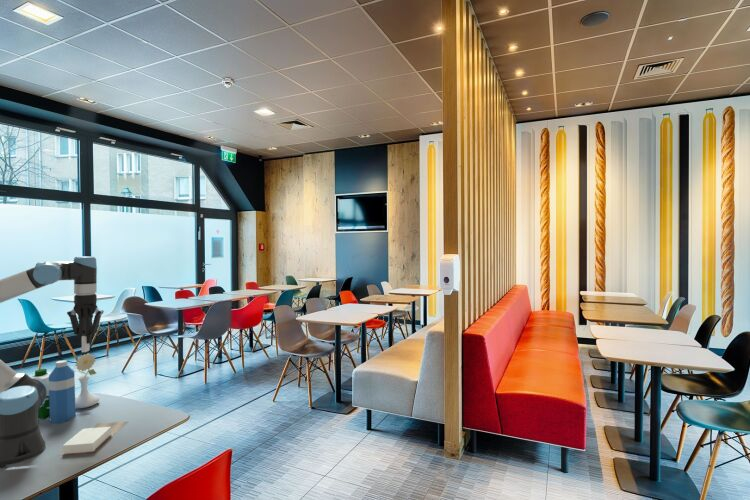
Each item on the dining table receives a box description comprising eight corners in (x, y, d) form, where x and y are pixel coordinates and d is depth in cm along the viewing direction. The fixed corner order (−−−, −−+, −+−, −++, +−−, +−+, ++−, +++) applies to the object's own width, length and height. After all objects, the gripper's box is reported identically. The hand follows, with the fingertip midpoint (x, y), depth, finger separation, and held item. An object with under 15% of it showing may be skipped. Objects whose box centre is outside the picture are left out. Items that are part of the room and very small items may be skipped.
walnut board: (58, 457, 143) (58, 455, 143) (98, 425, 168) (98, 423, 168) (94, 454, 144) (94, 452, 144) (128, 423, 169) (128, 421, 169)
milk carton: (47, 410, 184) (46, 366, 183) (64, 411, 182) (62, 367, 181) (27, 418, 175) (26, 373, 174) (44, 420, 173) (43, 374, 173)
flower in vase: (63, 409, 184) (61, 355, 184) (87, 399, 195) (86, 348, 194) (83, 412, 180) (82, 357, 180) (107, 403, 191) (106, 350, 190)
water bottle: (80, 417, 176) (78, 360, 175) (54, 425, 168) (52, 366, 167) (71, 412, 181) (69, 357, 180) (45, 420, 173) (43, 362, 172)
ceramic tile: (83, 428, 156) (62, 445, 143) (111, 426, 157) (93, 443, 145) (83, 437, 156) (62, 454, 143) (111, 434, 157) (93, 452, 145)
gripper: (107, 292, 169) (107, 348, 169) (74, 293, 167) (74, 349, 168) (97, 294, 162) (97, 353, 162) (62, 295, 160) (62, 354, 160)
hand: (85, 351), depth 165 cm, fingers closed
